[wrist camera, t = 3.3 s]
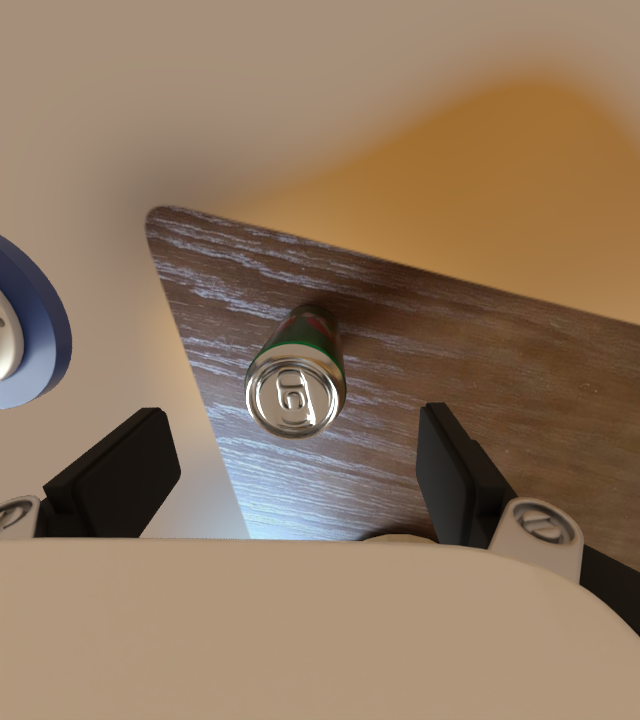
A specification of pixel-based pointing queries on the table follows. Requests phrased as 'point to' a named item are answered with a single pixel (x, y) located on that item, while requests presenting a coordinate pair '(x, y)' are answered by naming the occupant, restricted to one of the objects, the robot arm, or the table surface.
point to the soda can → (298, 376)
